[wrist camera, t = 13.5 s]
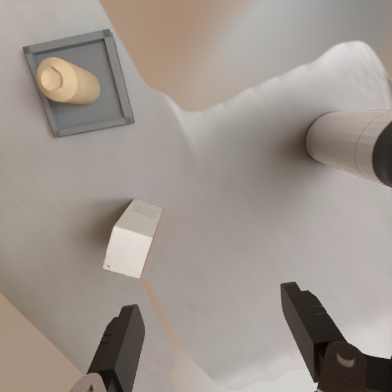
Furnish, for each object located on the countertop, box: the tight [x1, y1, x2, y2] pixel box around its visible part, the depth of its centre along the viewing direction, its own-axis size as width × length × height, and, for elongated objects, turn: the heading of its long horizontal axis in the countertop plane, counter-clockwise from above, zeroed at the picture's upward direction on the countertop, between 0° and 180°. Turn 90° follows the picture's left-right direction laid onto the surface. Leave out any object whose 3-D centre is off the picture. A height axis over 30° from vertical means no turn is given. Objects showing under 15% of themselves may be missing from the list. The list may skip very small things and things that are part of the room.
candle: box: [36, 57, 100, 105], centre depth 35 cm, size 6×6×10 cm
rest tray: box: [23, 29, 135, 137], centre depth 40 cm, size 14×14×2 cm
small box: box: [103, 199, 163, 279], centre depth 42 cm, size 8×6×13 cm
